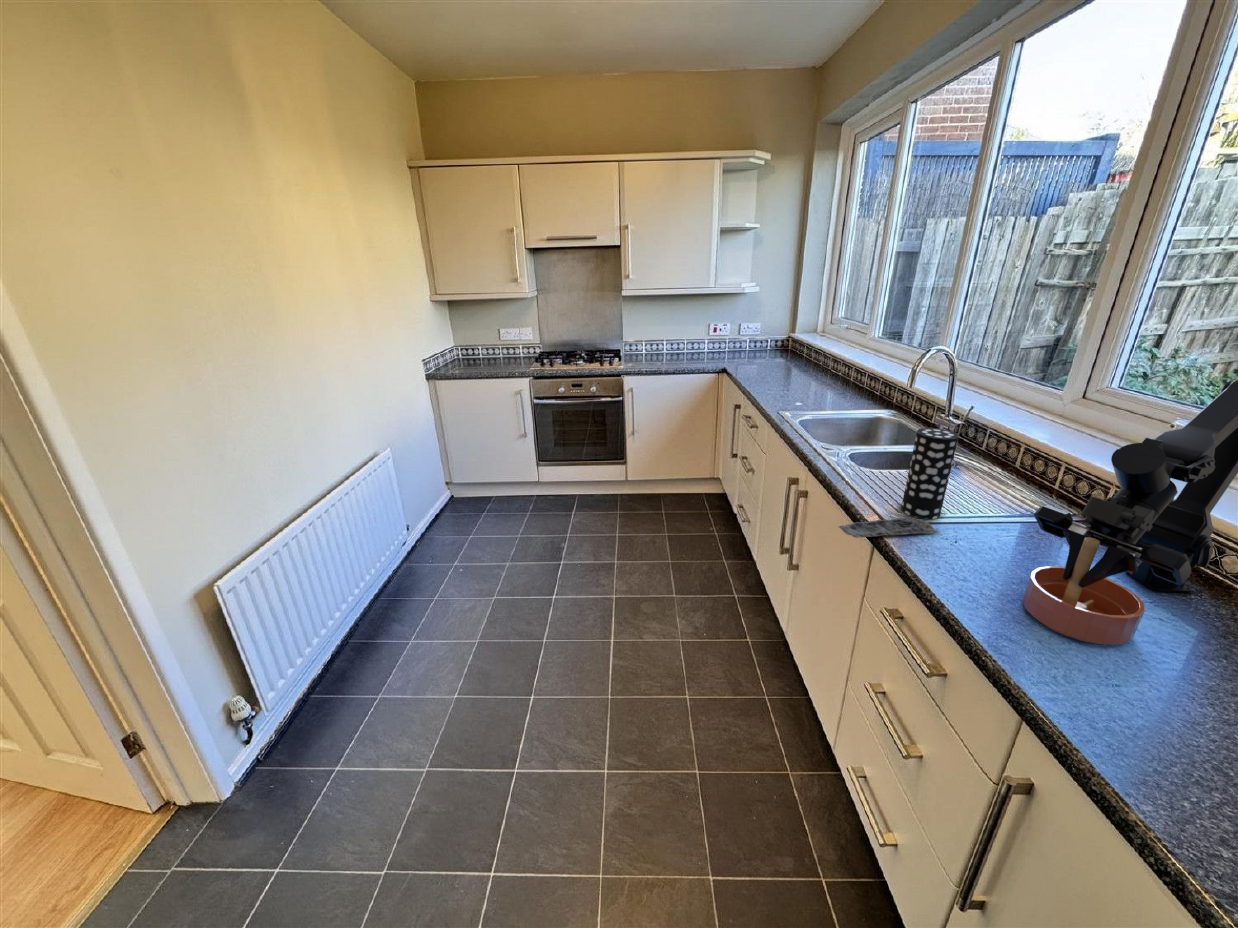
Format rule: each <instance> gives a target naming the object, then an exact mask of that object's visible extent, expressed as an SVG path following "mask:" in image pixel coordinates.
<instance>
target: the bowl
mask: <svg viewBox="0 0 1238 928" xmlns="http://www.w3.org/2000/svg"><path fill="white" fill-rule="evenodd" d="M1064 570H1065V566H1060V565H1045V566H1039V567H1036V568H1035V569H1034V570H1032V571H1031V572H1030V575H1029V578H1028V581H1027V583H1026V587H1025V590H1024V593H1023V595H1022V596H1023V597H1022V601H1021V603H1022V605H1023V607H1024V608H1025V610H1026V611H1027V612H1028V613H1029V614H1030V615H1031V616H1032V617H1033V618H1034V619H1036V621H1038V622H1040V623H1041V624H1042V625H1044V627H1046V628H1048V629H1050V630H1052V631H1054V632H1056V633H1058V634H1061V635H1062V636H1065V637H1067V638H1071V639H1073V640H1076V641H1079V642H1084V643H1089V644H1094V645H1103V646H1104V645H1107V646H1110V645H1111V646H1118V645H1122V644H1127V643H1129V642H1130V641H1131V640H1132V639H1133V638H1134V637H1135V634H1136V632H1137V630H1138V628H1139V625H1140V623H1141V621H1142V618H1143V616H1144V613H1145V612H1146V607H1145V603H1144V602H1143V600H1141V598H1140V597H1139V596H1138V595H1137V594H1136V593H1134V592H1133V591H1131V590H1130V589H1129V588H1127V587H1126V586H1124V585H1122V584H1120V583H1118V582H1115V581H1114V580H1112V579H1110V578H1108V577H1107V578H1104V579H1102V580H1100V581H1097V582H1095V583H1093V584H1090V585H1088V586H1086V587H1083V589H1082V591H1081V594H1080V596H1079V599H1078V602H1080V603H1085V602H1087V601H1089V600H1093V601H1094V603H1093V606H1092V607H1090V608H1089V609H1087V610H1085V609H1082V608H1079V607H1075V606H1073V605H1071V604H1068V603H1066V602H1064V601H1062V599H1063V596H1064V593H1065V591H1066V588H1067V585H1068V582H1069V580H1070V578H1069V579H1068V580H1067V581H1066V580H1064V579H1063V574H1064Z"/></svg>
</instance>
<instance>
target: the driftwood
mask: <svg viewBox="0 0 1238 928" xmlns="http://www.w3.org/2000/svg"><path fill="white" fill-rule="evenodd" d="M838 528H839V529H840V530H841V531H842V532H843V533H844V534H845V535H847V536H851V537H853V538H855V539H859V538H872V537H881V536H896V535H897V536H898V535H900V536H901V535H913V534H915V535H916V534H928V535H929V534H931V535H932V534H936V533H937V530H936V529H934V527H933V525H931V523H929V522H928V521H925V520H924V519H920V518H917V517H904V518H903V517H901V518H891V519H877V520H870V521H863V522H862V521H856V522H852V523H849V524H844V525H843V524H842V525H839V526H838Z"/></svg>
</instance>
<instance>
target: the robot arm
mask: <svg viewBox="0 0 1238 928" xmlns="http://www.w3.org/2000/svg"><path fill="white" fill-rule="evenodd" d="M1110 459H1111V460H1110V461H1111V464H1112V468H1113V471H1114V474H1115V478H1116V481H1117V484H1118V485H1119V486H1120V487H1121V488H1119V489H1118V491H1117V492H1116V493H1115V494H1114V496H1113V497H1111V496H1108V498H1106V499H1103V498H1099V497H1096V496H1090V498H1089V499H1088V501H1087V503H1086V505H1085V506H1084V508H1083V510H1082V512H1081V513H1080V515H1082V516H1085V518H1084V521H1085V522H1086V524H1089V526H1087V525H1085V524H1082V523H1080V522H1076V521H1074V518H1073V516H1072V513H1071V512H1069V511H1066V510H1064V509H1061V508H1058V507H1055V506H1052V505H1049V504H1047V505H1043V506H1040V507H1038V509H1037V510H1036V511H1035V512H1034V514H1033V516H1034V519H1035V521H1036V523H1037V525H1038V526H1039V529H1040V530H1041V531H1043V532H1044V533H1046V534H1050V535H1051V536H1054V537H1057V538H1060V539H1063V538H1065V539H1066V540H1065V541H1066V543H1067V545H1068V554H1067V559H1066V562H1065V566H1064V567H1065V570H1064V574H1063V579H1064V580H1066V581H1067V580H1068V579H1069V578H1070V577H1071V574H1072V571H1073V569H1074V566H1075V563H1076V560H1077V558H1078V555H1079V552H1080V550H1081V547H1082V544H1083V541H1084V539H1085V538H1086V537H1090V538H1094V539H1097V540H1099V541H1100V544H1099V546H1102V547H1105V548H1107V549H1105V552H1104V554H1103V556H1102V557H1101V558H1100V559H1099V560H1098V561H1097V562H1096V563H1095V564H1094V565H1093V566H1091V567H1090V570H1089V572H1088V573H1087V574H1086V575H1085V576H1084V577H1083V578H1082V580H1081V581H1080V582H1079V584H1078V585H1079V587H1081V588H1083V587H1086V586H1088V585H1090V584H1093V583H1095V582H1097V581H1100V580H1102V579H1104V578H1107V579H1108V578H1109V577H1112V576H1115V575H1119V574H1122V573H1126V574H1128V575H1129V576H1130V577H1132V578H1133V579H1135V580H1136V581H1138V582H1139V583H1141V584H1142V585H1144V586H1145V587H1147V588H1148V589H1150V590H1151V591H1153V592H1157V593H1158V592H1160V593H1161V592H1163V593H1192V592H1193V589H1192V588H1191V587H1188V586H1187V585H1186V582H1187V580H1188V579H1189V577H1190V576H1191V574H1192V569H1195V568H1207V567H1208V565H1210V564H1209V563H1210V561H1211V560H1212V556H1213V554H1214V547H1213V540H1212V537H1211V536H1212V535H1213V533H1214V525H1213V521H1212V516H1211V513H1212V511H1213V510H1214V508H1215V507H1216V506H1217V504H1218V503H1219V501H1220V500H1221V498H1222V497H1223V495H1224V493H1226V491H1227V490H1228V488H1229V486H1230V485H1231V483H1232V482H1233V480H1234V479H1235V477H1237V475H1238V379H1230V380H1228V381H1227V382H1226V383H1225V384H1224V386H1223V387H1222V389H1221V391H1220V393H1219V394H1218V395H1217V396H1216V397H1215V398H1214V399H1213V400H1212V401H1210V402H1209V403H1208V404H1207V405H1206V406H1205V407H1204V408H1203V409H1201V410H1200V411H1199V412H1198V413H1197V414H1196V415H1195V416H1194V417H1193V418H1192V419H1191V420H1190V421H1188V422H1187V423H1186V424H1185V425H1183V426H1182V427H1181V428H1177V429H1172V430H1168V431H1167V430H1166V431H1163V432H1161V433H1160V434H1158V435H1157V436H1156V437H1155V438H1151V437H1145V438H1144V439H1143V441H1142V442H1134V443H1129V444H1126V445H1123V446H1121V447H1119V448H1117V449H1115V450H1114V452H1112V455H1111V458H1110ZM1173 480H1175V481H1180V482H1183V483H1186V484H1185V485H1184V487H1183V488H1182V489H1181V491H1180V492H1179V494H1178V489H1177V486H1176V484H1175V483H1174V482H1173ZM1176 496H1177V497H1176ZM1175 497H1176V498H1175Z"/></svg>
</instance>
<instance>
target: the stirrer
mask: <svg viewBox="0 0 1238 928" xmlns="http://www.w3.org/2000/svg"><path fill="white" fill-rule="evenodd" d="M1099 547H1100V541H1099V540H1097V539H1094V538H1090V537H1086V538H1085V539H1084V541H1083V544H1082V547H1081V550H1080V552H1079V555H1078V558H1077V560H1076V563H1075V566H1074V569H1073V571H1072V574H1071V577H1070V580H1069V582H1068V585H1067V588H1066V591H1065V593H1064V596H1063V599H1062V601H1064V602H1066V603H1068V604H1071V605H1073V606H1075V607H1079V608H1082V609H1085V610H1087V609H1089V608H1090V607H1092V606H1093V603H1094V601H1093V600H1089V601H1087V602H1085V603H1080V602H1078V599H1079V596H1080V594H1081V591H1082V589H1083V588H1081V587H1079V585H1078V584H1079V582H1080V581H1081V580H1082V578H1083V577H1084V576H1085V575H1086V574H1087V573H1088V572H1089V571H1090V570H1091V568H1092V565H1093V562H1094V560H1095V556H1096V554H1097V551H1098V549H1099Z"/></svg>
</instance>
